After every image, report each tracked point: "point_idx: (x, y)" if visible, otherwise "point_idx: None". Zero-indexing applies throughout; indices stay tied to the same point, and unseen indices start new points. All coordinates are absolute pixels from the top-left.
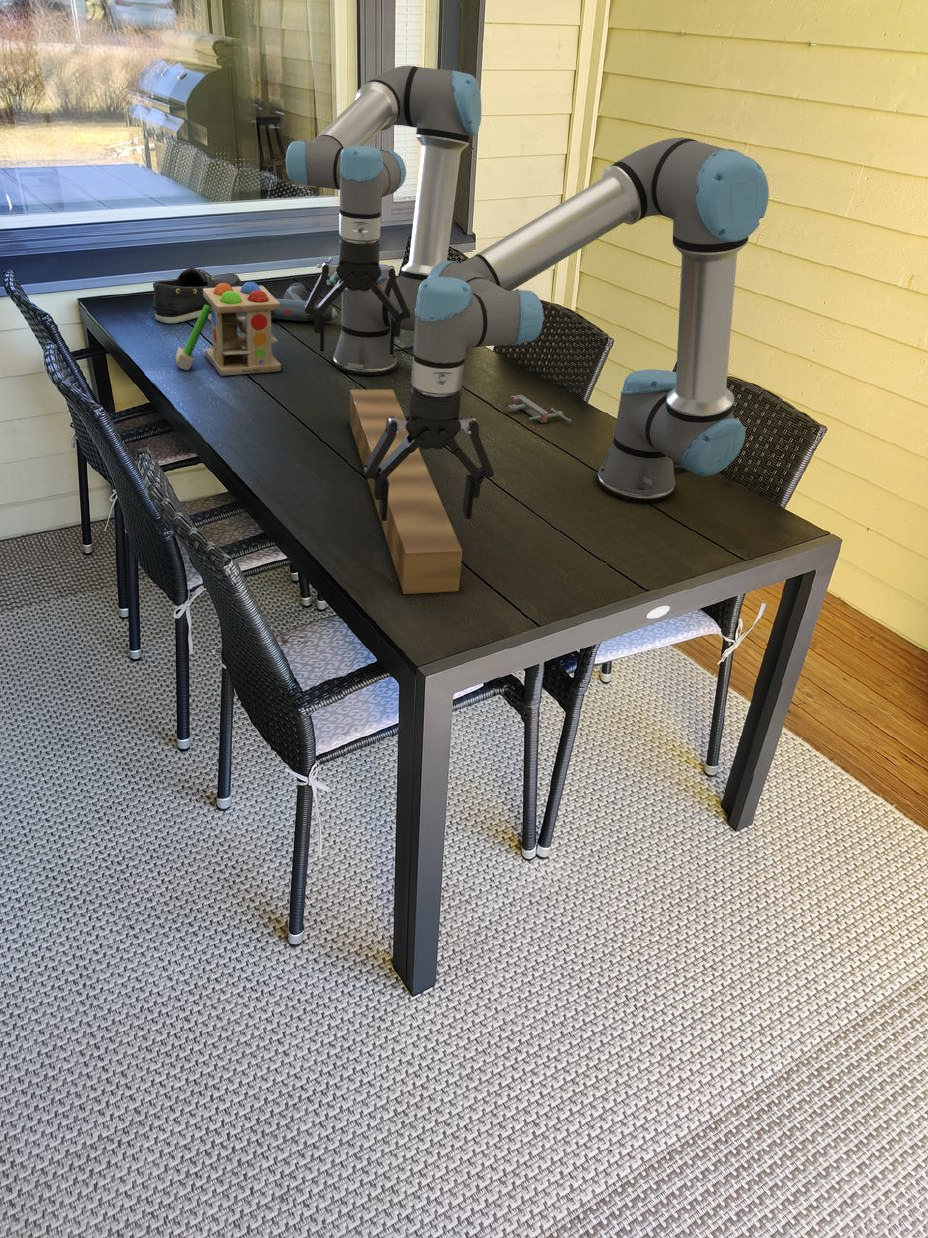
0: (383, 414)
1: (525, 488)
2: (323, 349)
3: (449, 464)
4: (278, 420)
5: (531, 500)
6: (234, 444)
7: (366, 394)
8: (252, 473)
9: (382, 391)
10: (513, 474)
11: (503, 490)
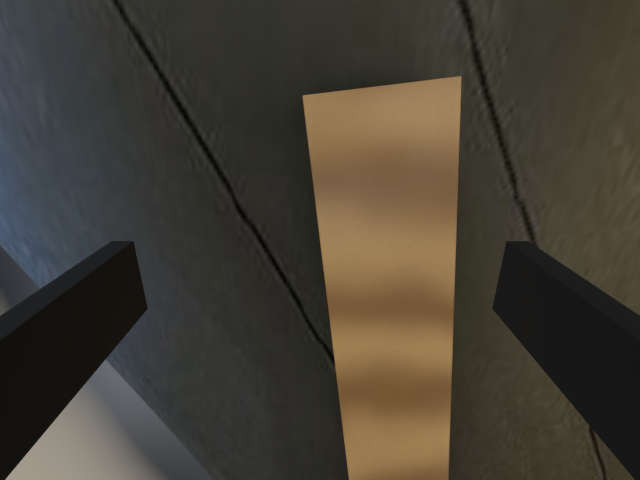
0: (396, 288)
1: None
2: (139, 314)
3: None
4: (113, 93)
5: None
6: (54, 244)
7: (358, 140)
8: (130, 358)
9: (418, 104)
10: None
11: None
